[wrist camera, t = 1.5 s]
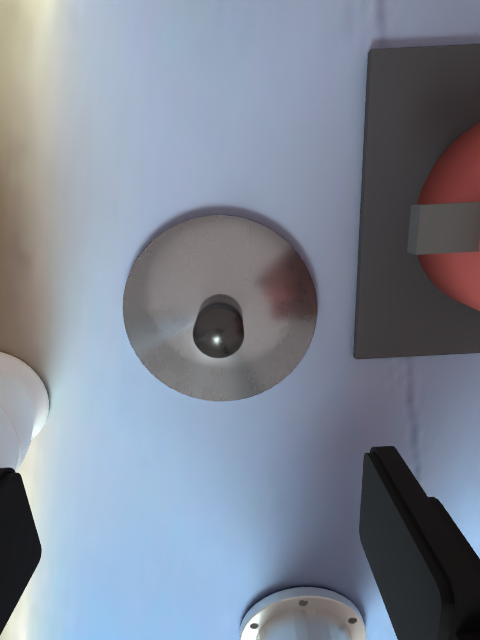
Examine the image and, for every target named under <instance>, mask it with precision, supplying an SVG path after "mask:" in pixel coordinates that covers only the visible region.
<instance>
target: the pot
mask: <svg viewBox="0 0 480 640" xmlns="http://www.w3.org/2000/svg"><path fill="white" fill-rule="evenodd" d="M407 252H408V253H411V254H415V255H418V258H419V260H420V263H421V265H422V268H423V270H424V271H425V273H426V275H427V276H428V278H429V279H430V280H431V282H432V283H433V284H434V285H435V286H436V287H437V288H438V289H439V290H440V291H441V292H442V293H444V294H445V295H447V296H448V297H450V298H452V299H454V300H456V301H458V302H460V303H462V304H465V305H467V306H469V307H471V308H474V309H476V310H478V311H480V123H478V124H476V125H474V126H473V127H472V128H470V129H469V130H467V131H466V132H465V133H463V134H462V135H461V136H460V137H459V138H458V139H457V140H455V141H454V142H453V143H452V144H451V145H450V146H449V147H448V149H447V150H446V151H445V152H444V153H443V154H442V155H441V157H440V158H439V160H438V161H437V162H436V164H435V165H434V167H433V168H432V170H431V172H430V174H429V176H428V177H427V179H426V181H425V183H424V186H423V188H422V191H421V193H420V196H419V200H418V204H417V205H411V213H410V224H409V236H408V247H407Z"/></svg>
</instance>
